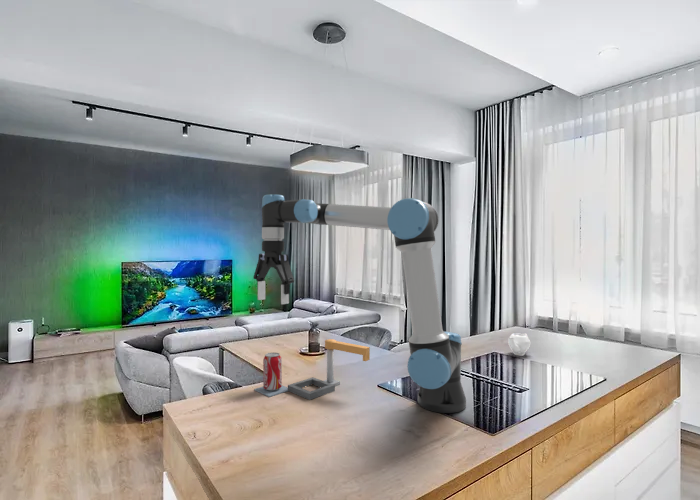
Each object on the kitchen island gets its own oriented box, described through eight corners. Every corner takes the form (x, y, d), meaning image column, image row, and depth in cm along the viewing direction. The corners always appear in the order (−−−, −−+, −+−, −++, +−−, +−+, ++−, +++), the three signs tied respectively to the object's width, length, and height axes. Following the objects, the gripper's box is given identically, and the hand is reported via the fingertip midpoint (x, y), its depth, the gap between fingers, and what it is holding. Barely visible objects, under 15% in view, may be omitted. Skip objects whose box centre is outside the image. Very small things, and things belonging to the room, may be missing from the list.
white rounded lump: (537, 352, 193) (538, 332, 193) (520, 360, 179) (520, 339, 178) (517, 348, 200) (517, 329, 199) (499, 356, 185) (499, 336, 185)
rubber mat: (291, 390, 142) (291, 388, 142) (269, 397, 135) (269, 395, 135) (275, 383, 148) (275, 382, 148) (254, 390, 141) (254, 389, 141)
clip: (329, 350, 150) (329, 338, 150) (370, 359, 140) (370, 346, 140) (322, 353, 147) (322, 340, 147) (364, 361, 136) (364, 348, 136)
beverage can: (278, 392, 138) (277, 357, 138) (260, 391, 139) (260, 356, 139) (284, 386, 144) (284, 352, 144) (267, 385, 145) (267, 351, 145)
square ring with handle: (346, 386, 145) (346, 350, 145) (309, 400, 133) (309, 360, 133) (324, 378, 153) (324, 345, 153) (287, 390, 141) (287, 354, 141)
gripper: (304, 240, 134) (304, 304, 135) (261, 240, 152) (261, 297, 152) (286, 240, 129) (286, 307, 129) (243, 239, 146) (243, 299, 147)
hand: (272, 301), depth 141 cm, fingers open, 13 cm apart
